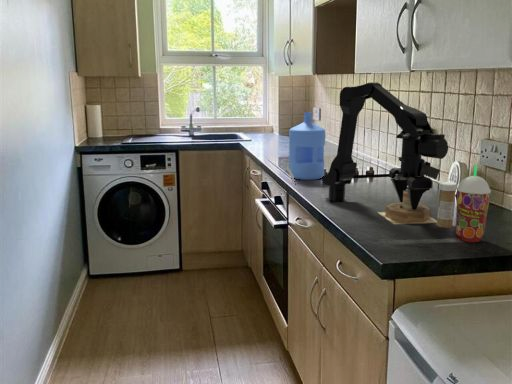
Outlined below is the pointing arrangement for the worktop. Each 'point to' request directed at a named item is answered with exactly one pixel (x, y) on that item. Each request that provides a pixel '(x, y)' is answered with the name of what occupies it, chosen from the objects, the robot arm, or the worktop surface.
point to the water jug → (306, 150)
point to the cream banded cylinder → (406, 201)
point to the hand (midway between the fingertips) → (407, 205)
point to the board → (405, 222)
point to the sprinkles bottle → (446, 204)
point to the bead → (407, 213)
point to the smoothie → (472, 208)
